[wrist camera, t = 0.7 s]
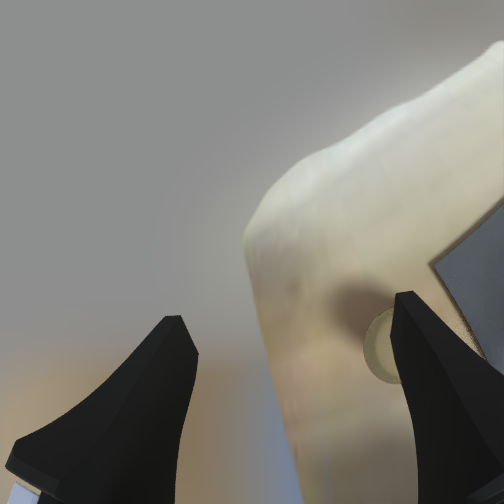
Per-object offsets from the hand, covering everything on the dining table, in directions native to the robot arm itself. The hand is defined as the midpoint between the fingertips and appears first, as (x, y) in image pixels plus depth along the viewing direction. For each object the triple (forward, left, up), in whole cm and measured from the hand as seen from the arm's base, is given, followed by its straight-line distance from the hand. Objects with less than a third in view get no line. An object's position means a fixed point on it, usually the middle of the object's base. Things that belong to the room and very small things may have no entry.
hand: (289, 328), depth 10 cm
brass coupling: (-1, 0, -16) cm, 16 cm away
